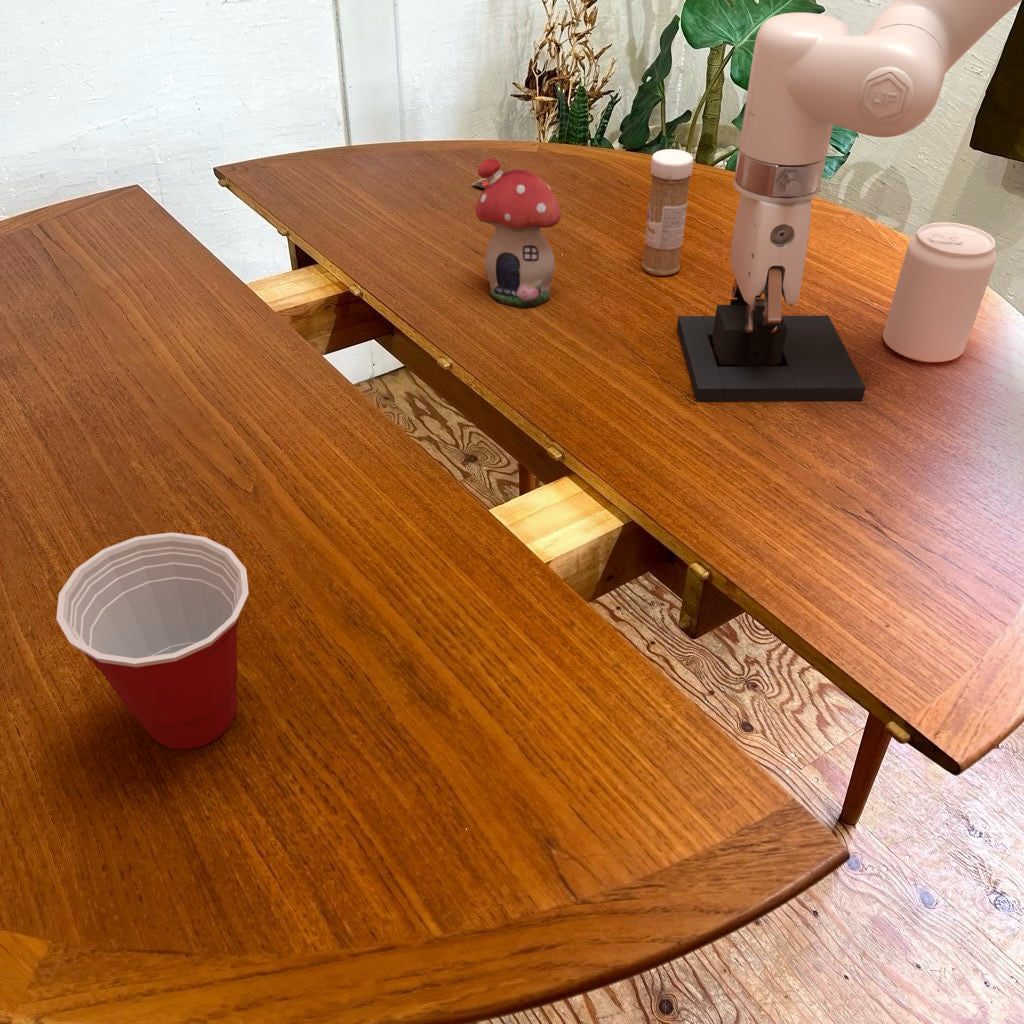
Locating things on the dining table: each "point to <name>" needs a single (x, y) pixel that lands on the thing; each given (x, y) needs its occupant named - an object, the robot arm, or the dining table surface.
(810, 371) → the base pad
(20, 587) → the dining table surface
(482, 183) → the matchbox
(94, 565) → the plastic cup
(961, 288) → the beverage can
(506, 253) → the decorative ornament
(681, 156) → the sprinkles bottle
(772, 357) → the small black block
